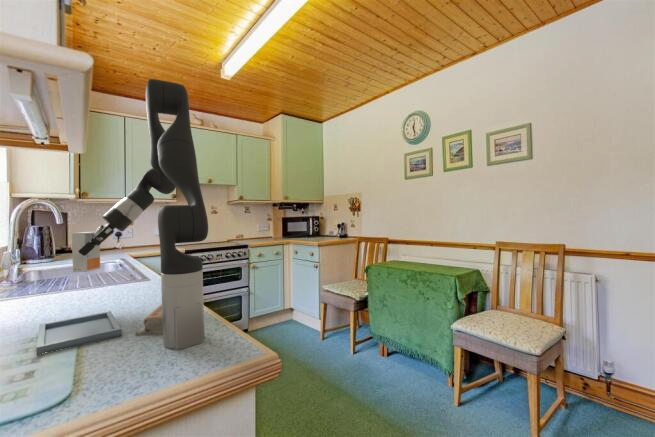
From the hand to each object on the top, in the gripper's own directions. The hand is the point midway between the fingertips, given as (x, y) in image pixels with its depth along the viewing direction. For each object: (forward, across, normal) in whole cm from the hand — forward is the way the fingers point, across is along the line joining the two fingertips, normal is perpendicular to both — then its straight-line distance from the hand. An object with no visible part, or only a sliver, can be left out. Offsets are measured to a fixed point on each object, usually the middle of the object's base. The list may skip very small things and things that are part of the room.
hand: (80, 252), depth 96 cm
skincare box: (+3, 0, +5) cm, 6 cm away
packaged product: (+2, +24, +27) cm, 36 cm away
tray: (+15, +17, +13) cm, 26 cm away
